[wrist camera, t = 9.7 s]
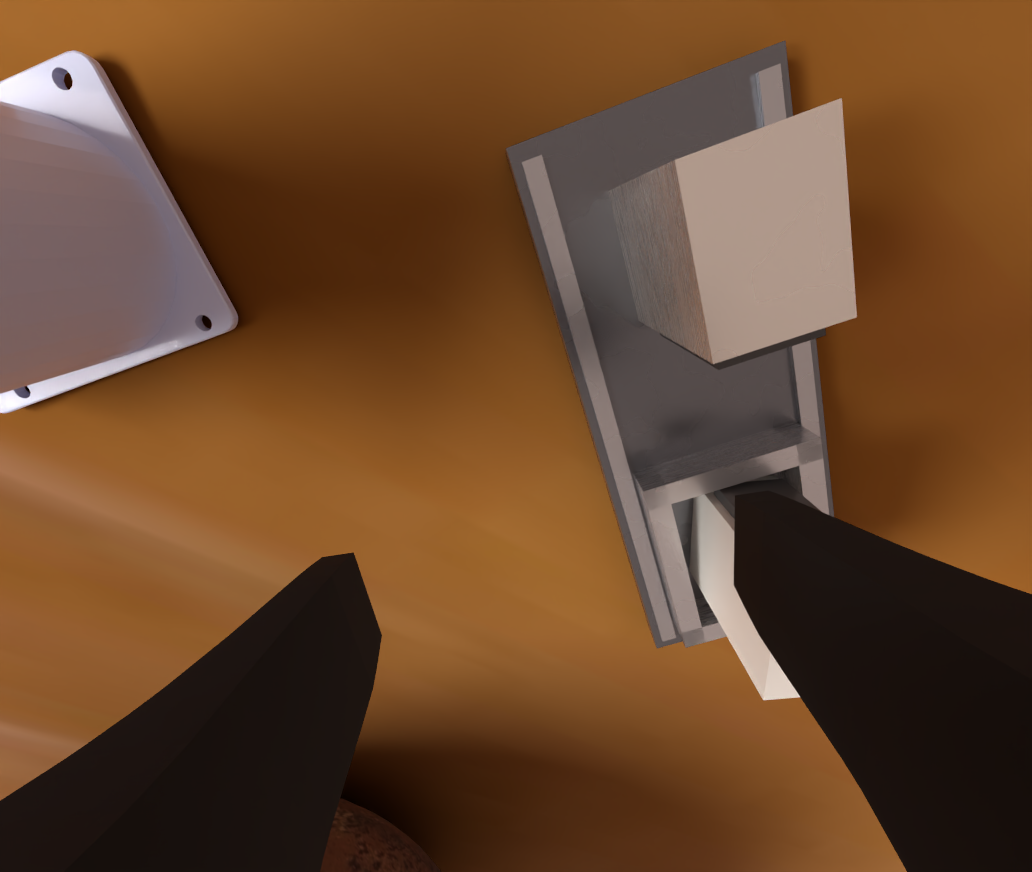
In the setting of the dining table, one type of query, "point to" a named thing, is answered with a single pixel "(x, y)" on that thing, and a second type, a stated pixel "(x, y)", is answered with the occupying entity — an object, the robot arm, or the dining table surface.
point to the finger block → (717, 579)
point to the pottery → (370, 844)
